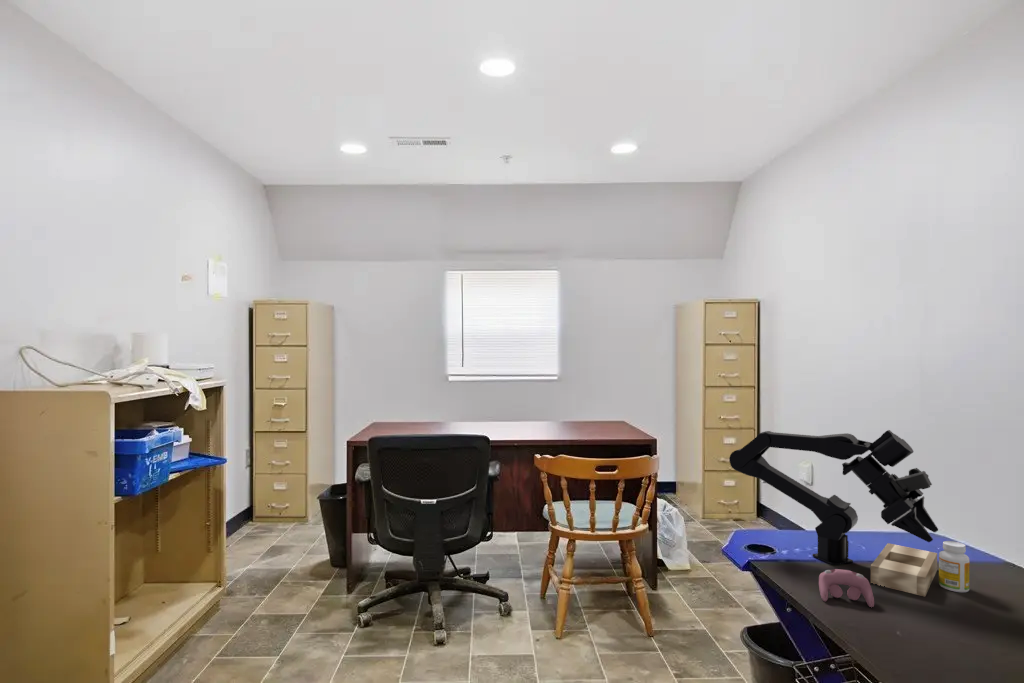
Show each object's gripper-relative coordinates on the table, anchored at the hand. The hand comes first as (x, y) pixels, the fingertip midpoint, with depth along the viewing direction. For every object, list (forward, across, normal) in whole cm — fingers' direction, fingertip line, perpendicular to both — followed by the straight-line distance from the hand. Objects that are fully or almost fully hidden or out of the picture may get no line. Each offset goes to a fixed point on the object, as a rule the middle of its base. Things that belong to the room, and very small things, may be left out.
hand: (934, 536), depth 131 cm
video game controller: (-1, -23, +16) cm, 29 cm away
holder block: (+4, 0, +11) cm, 12 cm away
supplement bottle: (+10, 0, +5) cm, 11 cm away
